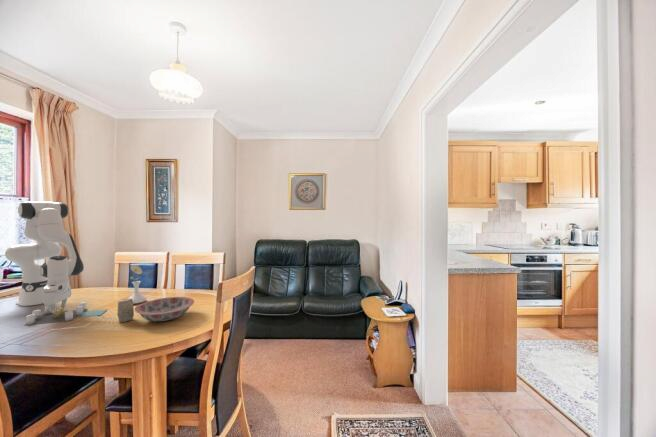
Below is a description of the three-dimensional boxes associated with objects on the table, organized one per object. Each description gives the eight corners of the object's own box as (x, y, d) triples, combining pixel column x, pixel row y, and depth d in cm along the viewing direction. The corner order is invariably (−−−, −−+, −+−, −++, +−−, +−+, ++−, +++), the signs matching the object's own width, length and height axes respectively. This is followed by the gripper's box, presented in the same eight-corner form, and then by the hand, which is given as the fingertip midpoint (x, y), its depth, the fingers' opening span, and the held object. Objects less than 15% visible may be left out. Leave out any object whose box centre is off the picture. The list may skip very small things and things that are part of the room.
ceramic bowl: (121, 324, 150) (121, 309, 149) (169, 307, 177) (169, 294, 177) (161, 332, 140) (161, 316, 139) (205, 313, 167) (205, 300, 167)
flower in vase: (149, 301, 187) (149, 264, 186) (130, 306, 177) (130, 267, 177) (140, 298, 194) (140, 262, 193) (121, 302, 184) (121, 265, 184)
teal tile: (86, 312, 166) (86, 311, 166) (106, 310, 170) (106, 309, 170) (78, 318, 157) (78, 317, 157) (100, 316, 161) (100, 315, 161)
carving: (114, 322, 152) (114, 300, 152) (130, 317, 159) (129, 296, 159) (121, 324, 149) (121, 302, 149) (136, 319, 156) (136, 298, 156)
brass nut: (54, 315, 159) (54, 308, 159) (66, 314, 161) (66, 307, 161) (50, 318, 155) (50, 311, 155) (62, 317, 157) (62, 310, 157)
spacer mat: (43, 313, 163) (43, 305, 163) (90, 309, 171) (90, 301, 171) (20, 326, 145) (20, 317, 144) (74, 321, 152) (74, 312, 152)
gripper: (61, 281, 166) (61, 304, 166) (40, 289, 147) (40, 316, 147) (74, 280, 168) (75, 303, 168) (55, 288, 149) (56, 314, 149)
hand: (58, 309), depth 158 cm, fingers open, 8 cm apart
